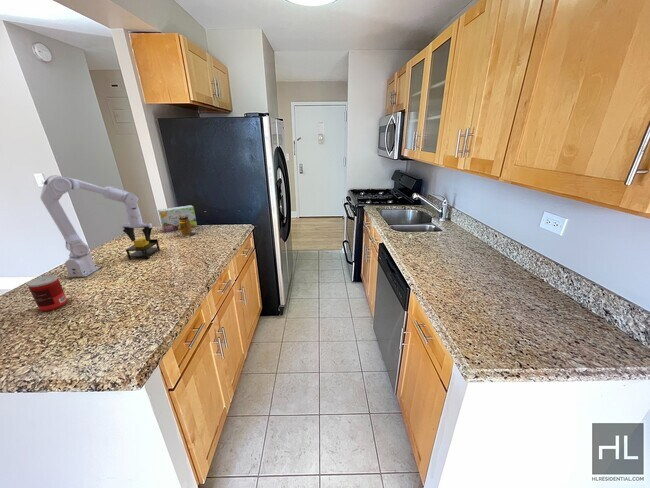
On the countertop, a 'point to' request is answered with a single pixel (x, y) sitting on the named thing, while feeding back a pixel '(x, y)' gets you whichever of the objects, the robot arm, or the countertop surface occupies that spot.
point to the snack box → (176, 217)
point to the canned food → (47, 292)
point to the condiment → (185, 226)
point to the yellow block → (140, 242)
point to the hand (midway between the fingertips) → (141, 240)
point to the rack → (143, 249)
